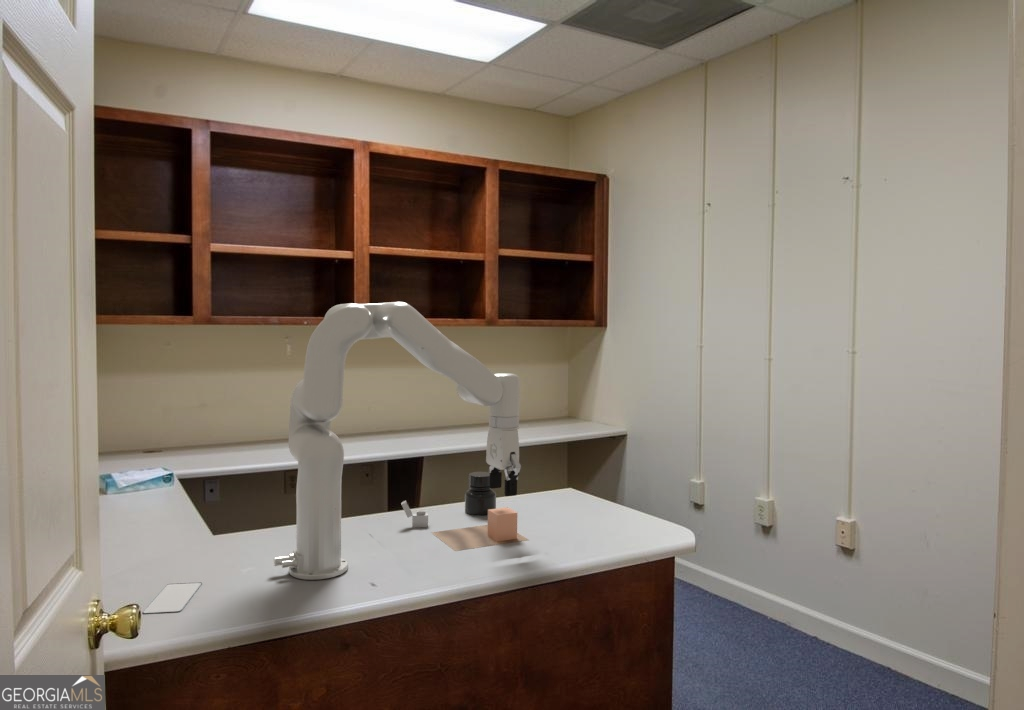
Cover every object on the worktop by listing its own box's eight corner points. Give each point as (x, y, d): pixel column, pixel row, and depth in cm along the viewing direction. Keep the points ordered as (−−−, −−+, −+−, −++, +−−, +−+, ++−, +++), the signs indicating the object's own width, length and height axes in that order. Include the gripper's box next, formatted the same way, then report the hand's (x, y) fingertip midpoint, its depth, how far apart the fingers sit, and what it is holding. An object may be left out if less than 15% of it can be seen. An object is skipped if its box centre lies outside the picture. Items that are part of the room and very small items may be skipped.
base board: (455, 555, 165) (455, 550, 165) (431, 537, 179) (431, 532, 179) (529, 544, 174) (529, 539, 174) (500, 527, 188) (500, 523, 188)
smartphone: (203, 582, 146) (180, 611, 131) (203, 584, 146) (180, 614, 131) (167, 583, 145) (141, 613, 130) (167, 586, 145) (141, 616, 130)
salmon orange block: (497, 541, 172) (497, 515, 172) (487, 535, 177) (487, 509, 177) (517, 538, 175) (517, 512, 174) (507, 532, 180) (507, 507, 179)
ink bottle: (483, 509, 206) (483, 469, 205) (503, 515, 200) (503, 474, 199) (457, 515, 199) (457, 473, 199) (477, 522, 193) (477, 479, 192)
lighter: (427, 529, 185) (428, 499, 185) (428, 531, 184) (428, 501, 183) (401, 530, 184) (401, 500, 184) (400, 532, 183) (401, 502, 182)
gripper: (475, 418, 181) (475, 485, 181) (506, 428, 165) (505, 501, 166) (501, 417, 184) (500, 483, 185) (533, 426, 169) (532, 498, 169)
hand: (502, 491), depth 175 cm, fingers open, 7 cm apart
